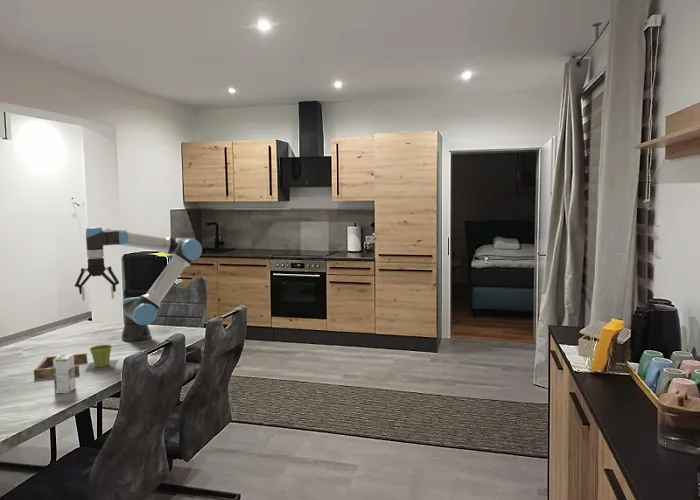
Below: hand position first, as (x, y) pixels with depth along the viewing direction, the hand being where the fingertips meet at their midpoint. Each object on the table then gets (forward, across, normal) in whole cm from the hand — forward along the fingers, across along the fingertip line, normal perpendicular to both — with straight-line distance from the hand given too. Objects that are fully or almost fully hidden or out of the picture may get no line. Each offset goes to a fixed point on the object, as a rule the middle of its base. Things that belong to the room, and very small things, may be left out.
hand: (98, 299), depth 266 cm
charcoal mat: (+27, +4, -28) cm, 39 cm away
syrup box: (+27, -5, -59) cm, 65 cm away
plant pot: (+27, +4, -28) cm, 39 cm away
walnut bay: (+27, -13, -28) cm, 41 cm away
